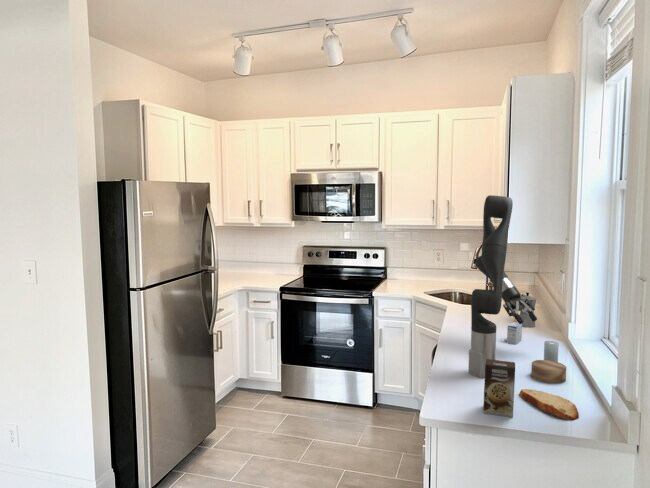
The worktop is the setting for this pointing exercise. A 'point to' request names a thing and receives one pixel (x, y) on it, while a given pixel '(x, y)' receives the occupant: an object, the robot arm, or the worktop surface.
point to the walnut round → (548, 371)
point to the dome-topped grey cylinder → (551, 351)
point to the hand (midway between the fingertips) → (528, 321)
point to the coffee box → (499, 387)
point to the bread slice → (550, 404)
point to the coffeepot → (524, 315)
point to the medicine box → (514, 333)
